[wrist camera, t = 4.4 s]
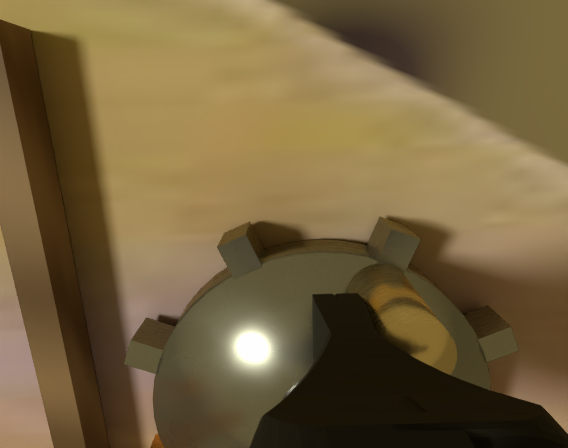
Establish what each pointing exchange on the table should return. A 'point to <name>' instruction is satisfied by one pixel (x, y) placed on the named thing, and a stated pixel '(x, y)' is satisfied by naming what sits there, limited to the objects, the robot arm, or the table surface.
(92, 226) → the table surface
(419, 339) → the sprocket
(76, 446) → the guide rails
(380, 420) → the robot arm
